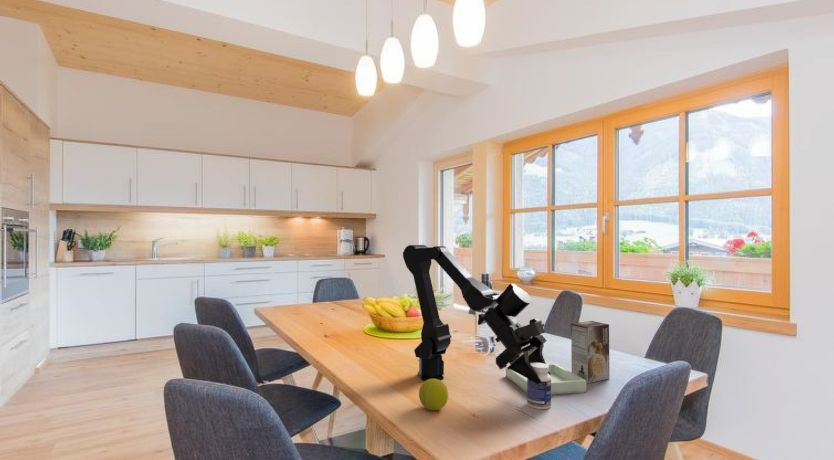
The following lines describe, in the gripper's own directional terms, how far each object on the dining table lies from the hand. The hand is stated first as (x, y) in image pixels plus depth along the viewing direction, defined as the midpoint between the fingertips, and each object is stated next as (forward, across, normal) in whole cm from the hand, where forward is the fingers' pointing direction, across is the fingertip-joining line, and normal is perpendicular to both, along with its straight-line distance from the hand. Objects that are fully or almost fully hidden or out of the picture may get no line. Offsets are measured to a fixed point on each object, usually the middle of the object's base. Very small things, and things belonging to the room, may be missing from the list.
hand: (544, 379), depth 105 cm
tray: (0, +16, +9) cm, 18 cm away
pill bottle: (+4, 0, +6) cm, 7 cm away
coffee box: (+6, +30, +4) cm, 30 cm away
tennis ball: (-9, -18, +19) cm, 28 cm away
